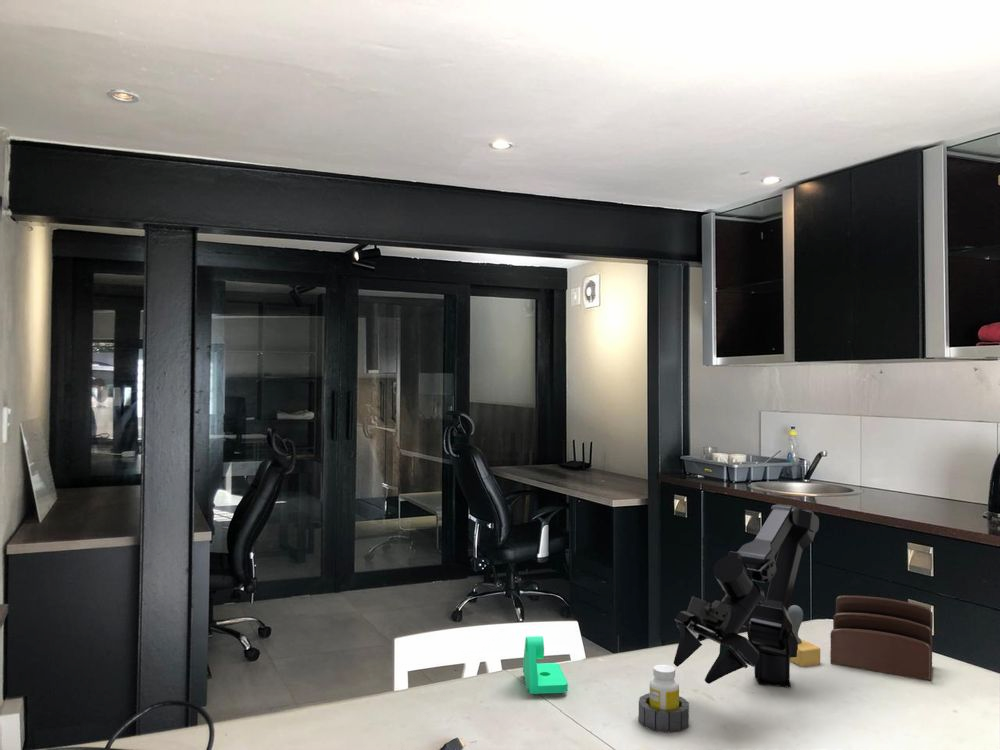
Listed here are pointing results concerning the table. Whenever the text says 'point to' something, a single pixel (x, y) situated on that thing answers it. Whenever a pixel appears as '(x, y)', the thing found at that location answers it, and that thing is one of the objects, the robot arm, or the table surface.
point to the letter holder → (882, 636)
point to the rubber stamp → (802, 641)
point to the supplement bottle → (664, 688)
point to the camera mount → (541, 670)
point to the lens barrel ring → (663, 716)
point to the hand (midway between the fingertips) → (690, 673)
